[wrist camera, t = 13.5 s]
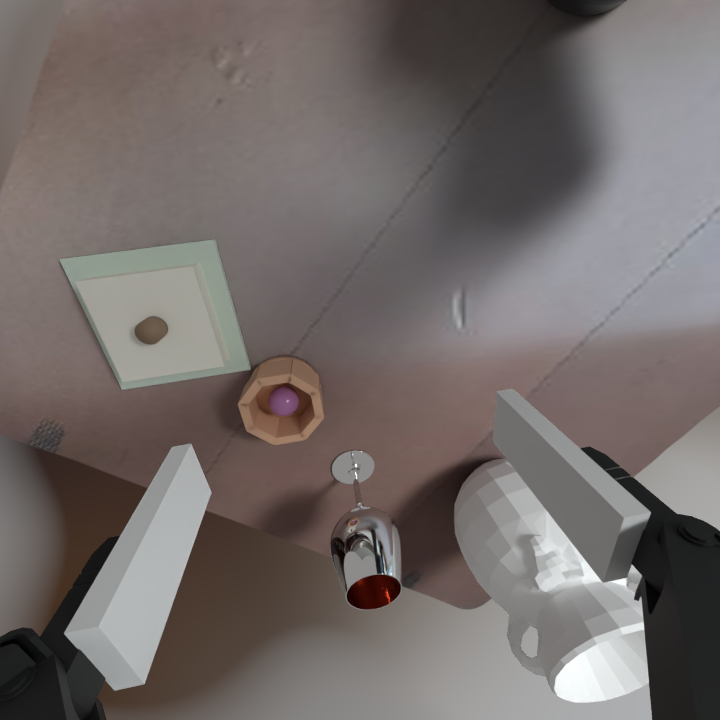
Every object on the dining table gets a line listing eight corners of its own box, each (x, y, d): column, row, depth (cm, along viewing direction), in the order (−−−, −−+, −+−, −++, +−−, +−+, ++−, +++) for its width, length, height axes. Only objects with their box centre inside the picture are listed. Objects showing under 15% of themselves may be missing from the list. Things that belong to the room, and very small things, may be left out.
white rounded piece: (528, 413, 50) (707, 583, 27) (557, 488, 58) (715, 668, 35) (418, 470, 52) (501, 674, 29) (460, 535, 60) (551, 735, 37)
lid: (89, 277, 34) (62, 285, 30) (200, 262, 35) (186, 269, 31) (133, 372, 39) (113, 390, 35) (229, 357, 39) (220, 373, 36)
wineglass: (375, 439, 48) (408, 556, 32) (384, 480, 52) (417, 605, 35) (320, 452, 48) (324, 578, 32) (332, 492, 51) (342, 625, 35)
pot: (240, 361, 41) (231, 383, 36) (314, 350, 41) (315, 369, 36) (258, 422, 44) (252, 449, 39) (325, 411, 45) (327, 436, 40)
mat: (63, 258, 34) (59, 259, 33) (215, 239, 35) (213, 239, 34) (124, 387, 40) (122, 389, 39) (251, 367, 41) (250, 369, 40)
